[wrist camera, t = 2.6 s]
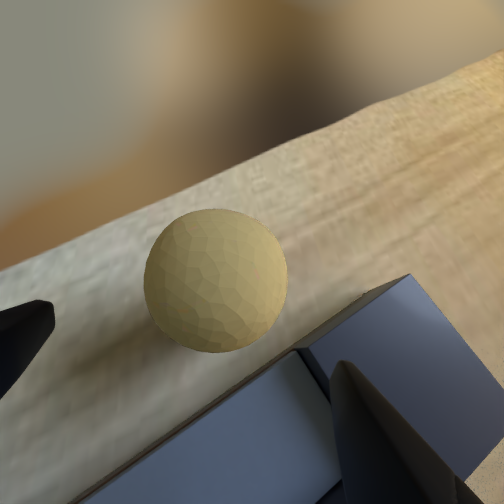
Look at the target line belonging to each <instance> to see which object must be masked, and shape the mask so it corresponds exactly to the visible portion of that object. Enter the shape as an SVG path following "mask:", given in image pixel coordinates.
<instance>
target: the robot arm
mask: <svg viewBox="0 0 504 504" xmlns="http://www.w3.org/2000/svg"><path fill="white" fill-rule="evenodd" d="M54 328H55V314H54V306H53V304H52V303H51V302H49V301H43V300H34V301H31V302H28V303H24V304H21V305H18V306H15V307H12V308H9V309H6V310H3V311H0V399H1V398H2V397H3V396H4V395H5V394H6V393H7V391H8V390H9V389H10V388H11V387H12V386H13V384H14V383H15V382H16V381H17V380H18V378H19V377H20V376H21V375H22V373H23V372H24V371H25V369H26V368H27V367H28V365H29V364H30V362H31V361H32V360H33V358H34V357H35V355H36V354H37V353H38V351H39V350H40V348H41V347H42V346H43V344H44V343H45V342H46V340H47V339H48V337H49V336H50V335H51V333H52V332H53V330H54ZM329 386H330V398H331V409H332V420H333V430H334V438H335V444H336V449H337V455H338V460H339V465H340V470H341V475H342V481H343V486H344V491H345V496H346V502H347V504H484V503H483V502H482V501H481V500H480V499H479V498H478V497H477V496H476V495H475V494H474V492H473V491H472V490H471V489H470V488H469V487H468V486H467V485H466V484H465V483H464V482H463V481H462V480H461V478H460V477H459V476H458V475H455V474H454V471H453V470H452V469H451V468H450V467H449V466H448V465H447V463H446V462H445V461H444V460H443V459H442V458H441V457H440V456H439V455H438V454H437V453H436V452H435V450H434V449H433V448H432V447H431V446H430V445H429V444H428V443H427V442H426V441H425V440H424V439H423V437H422V436H421V435H420V434H419V433H418V432H417V431H416V430H415V429H414V428H413V427H412V426H411V425H410V423H409V422H408V421H407V420H406V419H405V418H404V417H403V416H402V415H401V414H400V413H399V412H398V410H397V409H396V408H395V407H394V406H393V405H392V404H391V403H390V402H389V401H388V400H387V399H386V397H385V396H384V395H383V394H382V393H381V392H380V391H379V390H378V389H377V388H376V387H375V386H374V385H373V383H372V382H371V381H370V380H369V379H368V378H367V377H366V376H365V375H364V374H363V373H362V372H361V370H360V369H359V368H358V367H357V366H356V365H355V364H354V363H353V362H351V361H346V360H339V361H338V362H337V364H336V366H335V368H334V370H333V372H332V375H331V377H330V381H329Z"/></svg>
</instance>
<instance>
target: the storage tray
mask: <svg viewBox="0 0 504 504" xmlns="http://www.w3.org/2000/svg"><path fill="white" fill-rule="evenodd" d="M339 360H346V361H351V362H353V363H354V364H355V365H356V366H357V367H358V368H359V369H360V370H361V372H362V373H363V374H364V375H365V376H366V377H367V378H368V379H369V380H370V381H371V382H372V383H373V385H374V386H375V387H376V388H377V389H378V390H379V391H380V392H381V393H382V394H383V395H384V396H385V397H386V399H387V400H388V401H389V402H390V403H391V404H392V405H393V406H394V407H395V408H396V409H397V410H398V412H399V413H400V414H401V415H402V416H403V417H404V418H405V419H406V420H407V421H408V422H409V423H410V425H411V426H412V427H413V428H414V429H415V430H416V431H417V432H418V433H419V434H420V435H421V436H422V437H423V439H424V440H425V441H426V442H427V443H428V444H429V445H430V446H431V447H432V448H433V449H434V450H435V452H436V453H437V454H438V455H439V456H440V457H441V458H442V459H443V460H444V461H445V462H446V463H447V465H448V466H449V467H450V468H451V469H452V470H453V471H454V474H455V475H458V476H459V477H460V478H461V480H462V481H463V482H465V480H466V479H467V478H468V477H469V476H470V475H471V474H472V472H473V471H474V470H475V469H476V468H477V467H478V466H479V465H480V463H481V462H482V461H483V460H484V459H485V458H486V457H487V456H488V454H489V453H490V452H491V451H492V450H493V449H494V448H495V447H496V445H497V444H498V443H499V442H500V441H501V440H502V439H503V437H504V389H503V388H502V386H501V385H500V384H499V383H498V382H497V380H496V379H495V378H494V377H493V375H492V374H491V373H490V372H489V370H488V369H487V368H486V367H485V365H484V364H483V363H482V362H481V360H480V359H479V358H478V357H477V355H476V354H475V353H474V352H473V351H472V349H471V348H470V347H469V346H468V344H467V343H466V342H465V341H464V339H463V338H462V337H461V336H460V334H459V333H458V332H457V331H456V329H455V328H454V327H453V326H452V324H451V323H450V322H449V321H448V320H447V318H446V317H445V316H444V315H443V313H442V312H441V311H440V310H439V308H438V307H437V306H436V305H435V303H434V302H433V301H432V300H431V298H430V297H429V296H428V295H427V293H426V292H425V291H424V290H423V289H422V287H421V286H420V285H419V284H418V282H417V281H416V280H415V279H414V277H413V276H412V275H411V274H407V275H405V276H402V277H400V278H398V279H395V280H393V281H391V282H388V283H386V284H383V285H381V286H379V287H376V288H374V289H372V290H370V291H369V292H367V293H366V294H364V295H363V296H362V297H360V298H359V299H357V300H356V301H354V302H353V303H352V304H350V305H349V306H347V307H346V308H345V309H343V310H342V311H340V312H339V313H337V314H336V315H335V316H333V317H332V318H330V319H329V320H327V321H326V322H325V323H323V324H322V325H320V326H319V327H318V328H316V329H315V330H313V331H312V332H310V333H309V334H308V335H306V336H305V337H303V338H302V339H301V340H299V341H298V342H296V343H295V344H293V345H292V346H291V347H289V348H288V349H286V350H285V351H283V352H282V353H281V354H279V355H278V356H276V357H275V358H274V359H272V360H271V361H269V362H268V363H266V364H265V365H264V366H262V367H261V368H259V369H258V370H256V371H255V372H254V373H252V374H251V375H249V376H248V377H247V378H245V379H244V380H242V381H241V382H239V383H238V384H237V385H235V386H234V387H232V388H231V389H229V390H228V391H227V392H225V393H224V394H222V395H221V396H220V397H218V398H217V399H215V400H214V401H212V402H211V403H210V404H208V405H207V406H205V407H204V408H202V409H201V410H200V411H198V412H197V413H195V414H194V415H193V416H191V417H190V418H188V419H187V420H185V421H184V422H183V423H181V424H180V425H178V426H177V427H175V428H174V429H173V430H171V431H170V432H168V433H167V434H166V435H164V436H163V437H161V438H160V439H158V440H157V441H156V442H154V443H153V444H151V445H150V446H148V447H147V448H146V449H144V450H143V451H141V452H140V453H139V454H137V455H136V456H134V457H133V458H131V459H130V460H129V461H127V462H126V463H124V464H123V465H121V466H120V467H119V468H117V469H116V470H114V471H113V472H112V473H110V474H109V475H107V476H106V477H104V478H103V479H102V480H100V481H99V482H97V483H96V484H95V485H93V486H92V487H90V488H89V489H87V490H86V491H85V492H83V493H82V494H80V495H79V496H77V497H76V498H75V499H73V500H72V501H70V502H69V503H68V504H347V502H346V496H345V491H344V486H343V481H342V475H341V470H340V465H339V460H338V455H337V449H336V444H335V438H334V430H333V420H332V409H331V398H330V386H329V381H330V377H331V375H332V372H333V370H334V368H335V366H336V364H337V362H338V361H339Z"/></svg>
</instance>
